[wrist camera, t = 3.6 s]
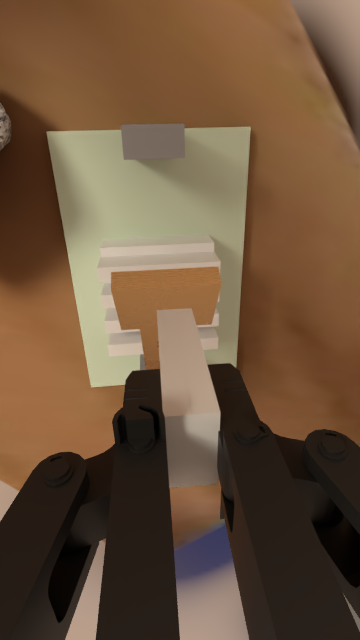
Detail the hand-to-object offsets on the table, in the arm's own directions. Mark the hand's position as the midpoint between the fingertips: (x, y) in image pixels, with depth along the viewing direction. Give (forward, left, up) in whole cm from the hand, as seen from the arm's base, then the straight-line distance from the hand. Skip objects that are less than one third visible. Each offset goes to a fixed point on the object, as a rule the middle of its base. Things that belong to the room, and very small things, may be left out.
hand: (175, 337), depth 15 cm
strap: (0, -6, -8) cm, 10 cm away
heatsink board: (0, -4, -21) cm, 21 cm away
